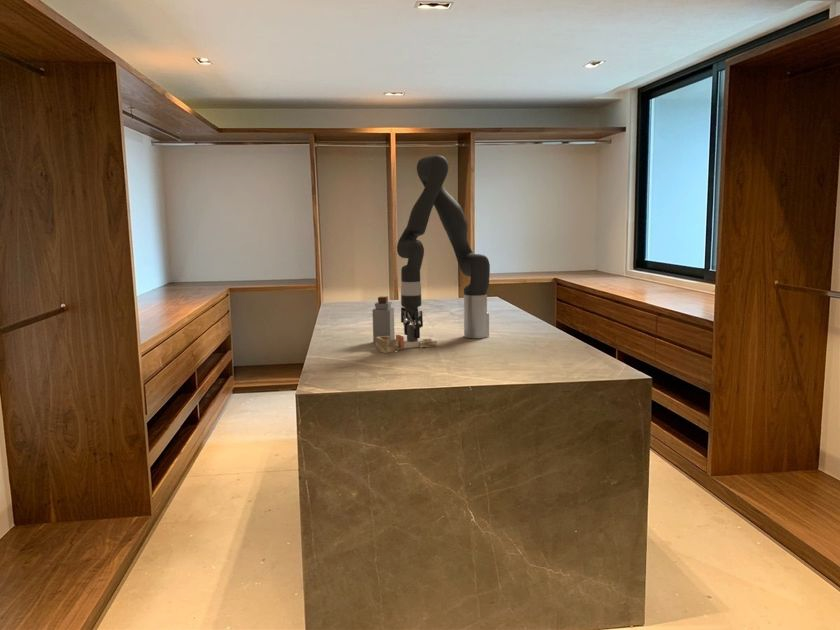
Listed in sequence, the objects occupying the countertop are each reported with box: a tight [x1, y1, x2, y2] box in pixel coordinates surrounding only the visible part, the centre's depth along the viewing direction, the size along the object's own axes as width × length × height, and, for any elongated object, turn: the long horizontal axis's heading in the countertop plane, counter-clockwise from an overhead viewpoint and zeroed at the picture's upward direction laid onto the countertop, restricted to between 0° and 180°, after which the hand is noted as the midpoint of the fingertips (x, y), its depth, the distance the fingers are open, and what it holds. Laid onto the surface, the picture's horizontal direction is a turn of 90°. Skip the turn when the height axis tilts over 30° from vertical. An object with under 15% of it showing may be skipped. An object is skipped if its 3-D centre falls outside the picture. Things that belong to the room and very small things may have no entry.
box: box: [375, 336, 400, 354], centre depth 238 cm, size 5×9×4 cm, turn 25°
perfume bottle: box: [371, 296, 396, 344], centre depth 250 cm, size 7×7×18 cm
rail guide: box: [418, 337, 438, 349], centre depth 244 cm, size 7×6×2 cm
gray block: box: [395, 323, 425, 350], centre depth 241 cm, size 10×4×8 cm, turn 115°
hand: (411, 336), depth 242 cm, fingers open, 8 cm apart
